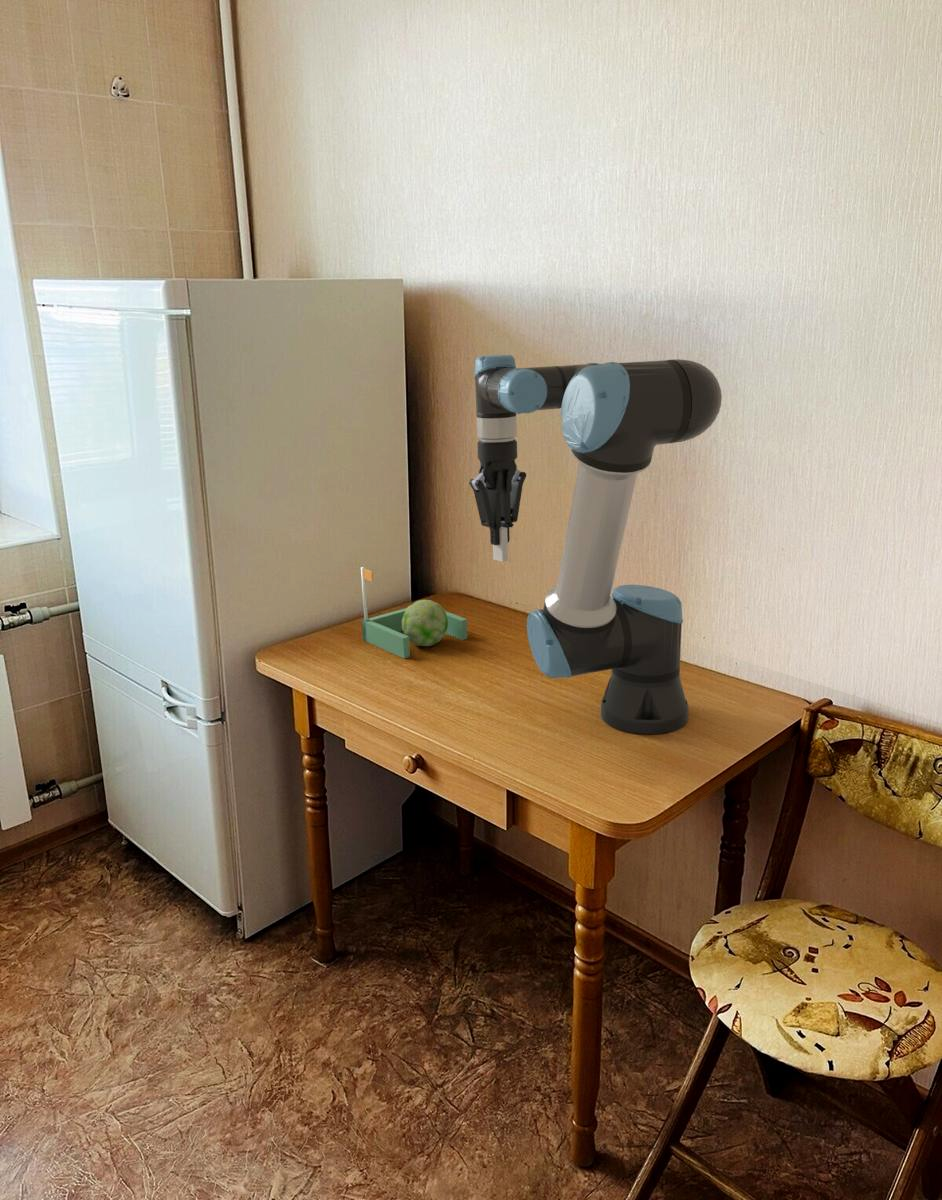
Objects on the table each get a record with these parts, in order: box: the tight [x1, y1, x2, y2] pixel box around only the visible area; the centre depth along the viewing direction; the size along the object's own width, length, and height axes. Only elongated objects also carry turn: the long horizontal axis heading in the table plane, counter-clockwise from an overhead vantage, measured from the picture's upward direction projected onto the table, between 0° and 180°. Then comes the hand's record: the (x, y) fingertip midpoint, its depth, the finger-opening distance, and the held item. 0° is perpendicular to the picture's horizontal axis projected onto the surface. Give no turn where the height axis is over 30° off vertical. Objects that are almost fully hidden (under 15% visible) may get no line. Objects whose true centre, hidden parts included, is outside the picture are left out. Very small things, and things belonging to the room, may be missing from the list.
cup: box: [360, 566, 468, 660], centre depth 206 cm, size 16×17×16 cm
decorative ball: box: [402, 599, 448, 647], centre depth 203 cm, size 10×10×10 cm
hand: (500, 559), depth 187 cm, fingers closed
